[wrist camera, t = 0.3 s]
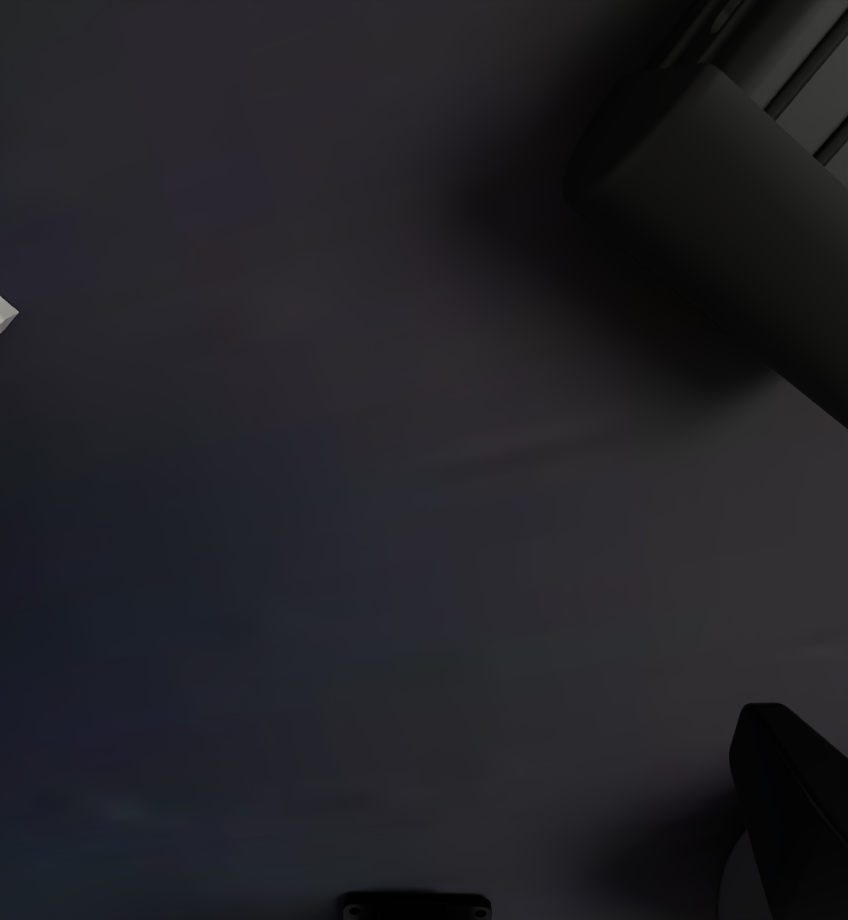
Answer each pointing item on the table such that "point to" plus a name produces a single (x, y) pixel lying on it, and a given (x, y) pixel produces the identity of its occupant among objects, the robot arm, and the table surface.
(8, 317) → the white slotted stand
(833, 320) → the black piece
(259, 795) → the table surface
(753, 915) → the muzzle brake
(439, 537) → the table surface
